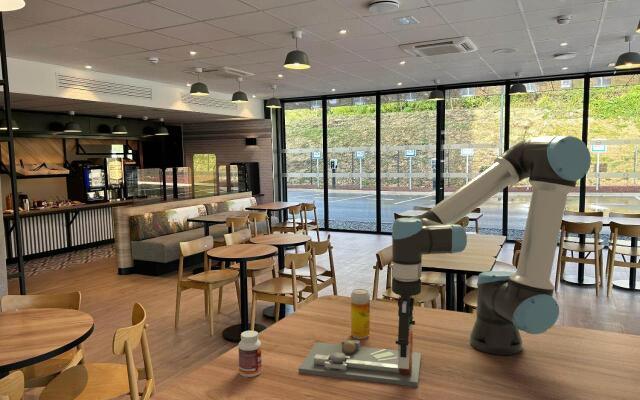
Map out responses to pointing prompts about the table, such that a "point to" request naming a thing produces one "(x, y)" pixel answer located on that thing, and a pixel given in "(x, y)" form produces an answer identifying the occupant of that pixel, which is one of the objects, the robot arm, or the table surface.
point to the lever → (366, 362)
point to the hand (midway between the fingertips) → (405, 357)
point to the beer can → (360, 313)
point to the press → (361, 354)
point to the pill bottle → (249, 354)
